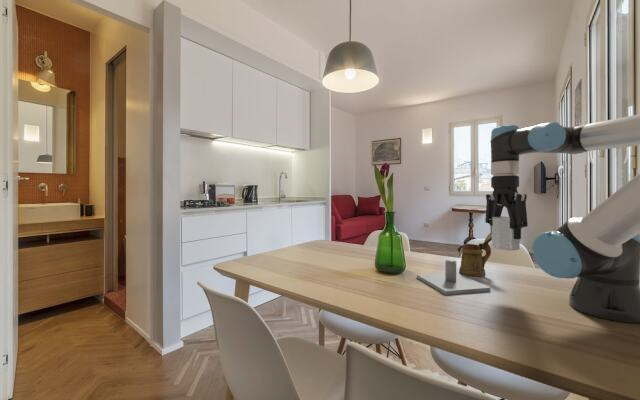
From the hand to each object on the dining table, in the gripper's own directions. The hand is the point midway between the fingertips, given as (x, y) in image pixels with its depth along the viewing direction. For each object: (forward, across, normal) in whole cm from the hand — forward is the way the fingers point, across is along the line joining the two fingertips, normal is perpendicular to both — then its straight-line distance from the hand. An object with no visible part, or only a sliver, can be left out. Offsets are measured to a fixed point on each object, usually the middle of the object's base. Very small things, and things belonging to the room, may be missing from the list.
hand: (505, 247), depth 91 cm
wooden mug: (+14, +20, -6) cm, 25 cm away
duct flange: (+14, +10, +12) cm, 21 cm away
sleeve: (0, 0, 0) cm, 0 cm away
